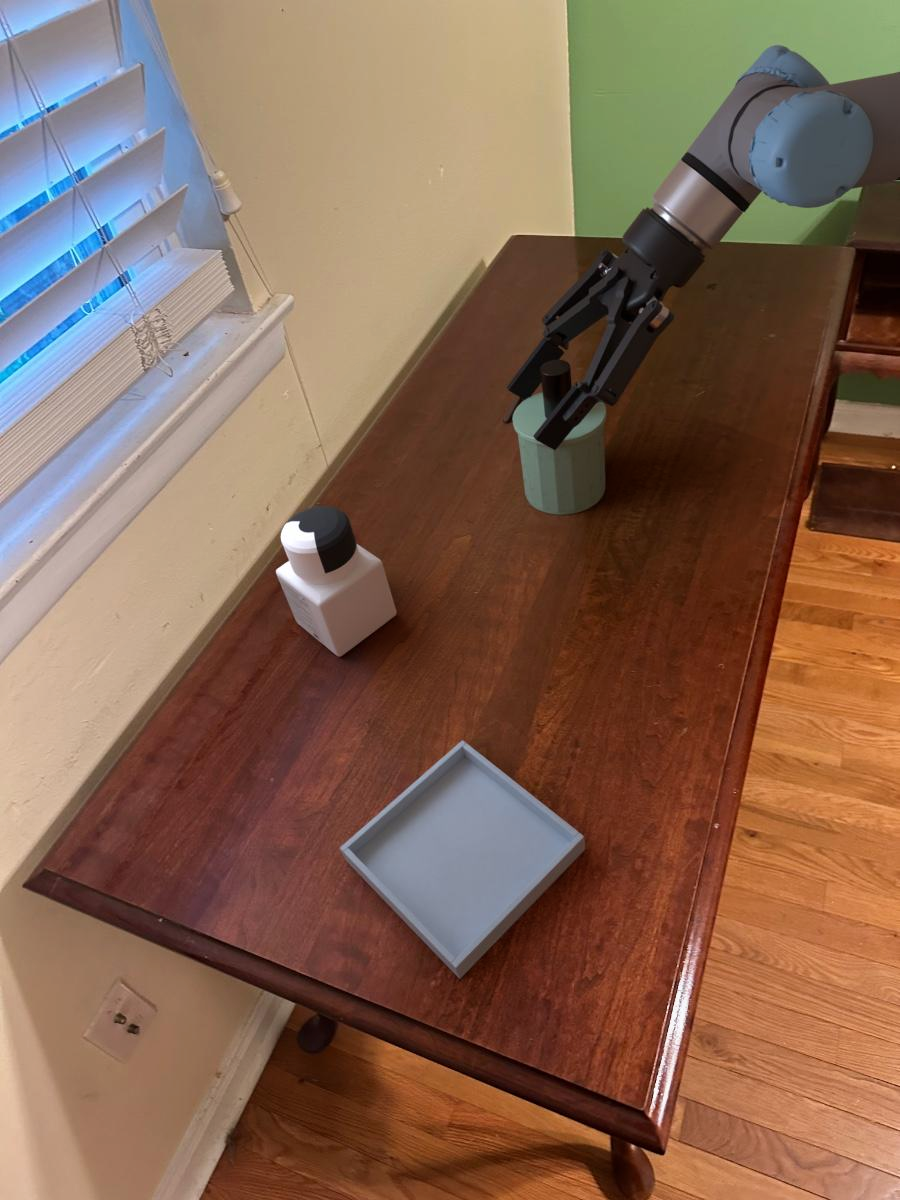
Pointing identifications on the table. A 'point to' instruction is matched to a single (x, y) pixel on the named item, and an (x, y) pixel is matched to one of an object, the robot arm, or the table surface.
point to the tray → (463, 855)
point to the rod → (511, 409)
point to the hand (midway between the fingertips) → (530, 417)
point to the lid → (554, 406)
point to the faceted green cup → (564, 474)
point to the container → (333, 580)
